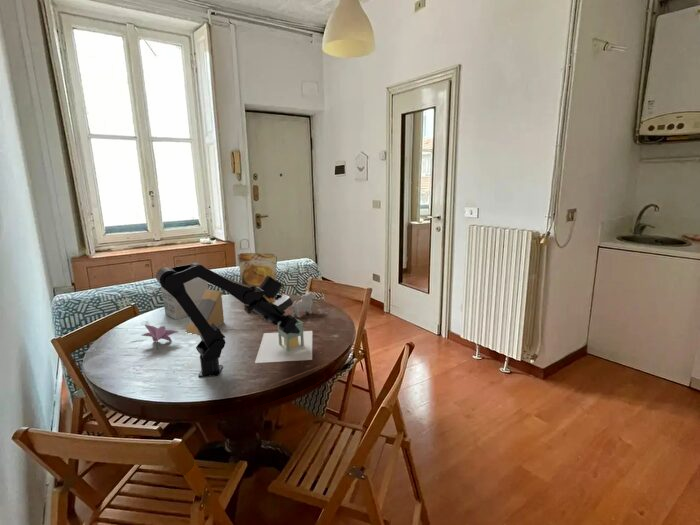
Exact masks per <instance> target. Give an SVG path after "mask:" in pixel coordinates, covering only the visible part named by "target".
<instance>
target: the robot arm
mask: <svg viewBox="0 0 700 525" xmlns="http://www.w3.org/2000/svg"><path fill="white" fill-rule="evenodd" d="M197 277H199V278H201V279H203V280H205V281H207V282H208V283H210V284H211V285H213V286H215V287H218V288H220V289H221V290H223V291H226V292H227V293H228V294H230V295H231V296H232V297H234V298H235V299H236V300H238V301H239V302H241V303H242V304H243V307H244V306H245V309H244V311H245V312H246V313H247V314H251V312H255V313H256V314H257V315H259V316H261V318H263V319H264V320H266V322H269V323H270V324H273V325H274V326H276V325H277V326H278V322H279V321H281V324H280V325H279V329H280V330H281V331H283V332H284V333H286V334H289V333H295V334H299V332H300V331H299V329H298V328H297V326H296V325H295V324H296V323H297V319H298V318H296V317H295V316H294V315H291V314H287V315H285V313H286V310H287V309H289V307H292V305H293V303H294V302H293V301H292V299H291V297H290V296H289V295H287V294H284V293H283V294H279V292H280V291H281V289H282V288H283V287H284V285H283V284H282V283H281V282H279V281H278V280H277V279H276V280H274V279H273V278H271V277H270V276H267V277H266V278H265V280H264V282H263V283H262V284H261V286H260V287H257V286H247V285H245V284H242V283H241V282H238V281H233V280H230V279H228V278H227V277H224V276H222V275H220V274H218V273H217V272H215V271H213V270H211V269H210V268H208V267H206V266H204V265H202V264H200V263H198V262H191V263H188V264H183V265H178V266H173V267H170V266H164V267H161V268H159V269H158V270H157V271H156V274H155V279H156V281H157V283H158V284H159V285H160V286H162V287H163V288H164V289H165V290H166V291H167V292H168V293H170V294H171V295H172V296H173V297H174V298H175V299H176V300H177V302H178V303H179V304H180V306H181V307H182V309H183V310H184V311H185V313H186V314H187V315H188V316H187V317H188V318H189V320H190V322H191V321H192V322H193V324H194V325H195V326H196V328H197V329H198V332H199V335H198V336H199V337H200V342H199V343H198V344H197V346H196V347H195V348H196V351H197V352H198V353H199V354H200V355H199V361H200V362H199V363H200V369H201V370H200V371H199V372H198V374H197V376H198V378H203V377H217V376H220V373H221V371H222V369H223V367H224V366H223V364H220V360H219V358H220V357H221V354H222V350H223V349H224V348H225V346H226V340H225V338H226V336H225V335H224V334H223V333H222V331H221V328H220V327H218V326H216V325H215V324H214V323H213V324H212V325H209V323H208V322H207V321H206V319H205V318H204V316H203V315H202V314H201V312H200V311H199V309H198V308H197V306H196V305H195V304H194V302H193V301H192V299H191V298H190V297H189V295H188V294H187V292H186V289H185V286H184V284H183V283H186V282H188V281H190V280H192V279H194V278H197ZM263 295H264V296H266V297H267V298H268V299H270V298H272V299H273V298H274V303H272V302H269V301H268V300H267V299H265V298H264V297H263ZM244 304H246V305H244ZM252 310H254V311H252Z"/></svg>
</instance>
